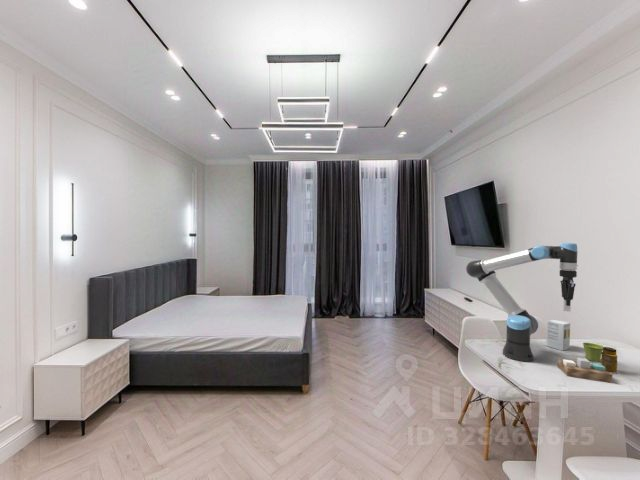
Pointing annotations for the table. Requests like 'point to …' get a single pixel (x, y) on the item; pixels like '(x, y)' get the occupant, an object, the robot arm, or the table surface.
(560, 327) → the supplement box
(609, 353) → the condiment
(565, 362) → the cream white cube
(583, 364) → the grey cube
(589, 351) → the plant pot
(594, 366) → the teal cube
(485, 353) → the table surface
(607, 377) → the wooden tray
